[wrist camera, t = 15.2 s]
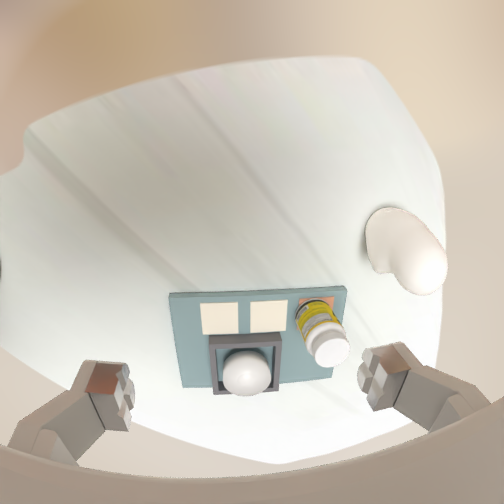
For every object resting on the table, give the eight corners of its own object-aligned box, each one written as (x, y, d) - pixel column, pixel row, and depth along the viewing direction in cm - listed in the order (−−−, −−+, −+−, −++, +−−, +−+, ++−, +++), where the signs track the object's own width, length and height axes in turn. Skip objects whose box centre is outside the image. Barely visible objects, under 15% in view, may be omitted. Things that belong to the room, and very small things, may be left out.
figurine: (355, 260, 38) (401, 306, 26) (366, 201, 35) (422, 228, 24) (399, 262, 39) (451, 303, 27) (411, 207, 36) (472, 235, 25)
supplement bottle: (330, 324, 39) (353, 364, 31) (296, 332, 39) (312, 375, 31) (329, 293, 37) (353, 330, 29) (292, 301, 37) (309, 342, 29)
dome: (223, 377, 41) (224, 399, 36) (221, 344, 39) (221, 365, 34) (266, 375, 41) (270, 396, 37) (267, 341, 39) (272, 363, 35)
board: (183, 382, 42) (181, 397, 39) (169, 293, 37) (166, 306, 34) (329, 372, 44) (335, 386, 41) (343, 286, 39) (353, 297, 36)
